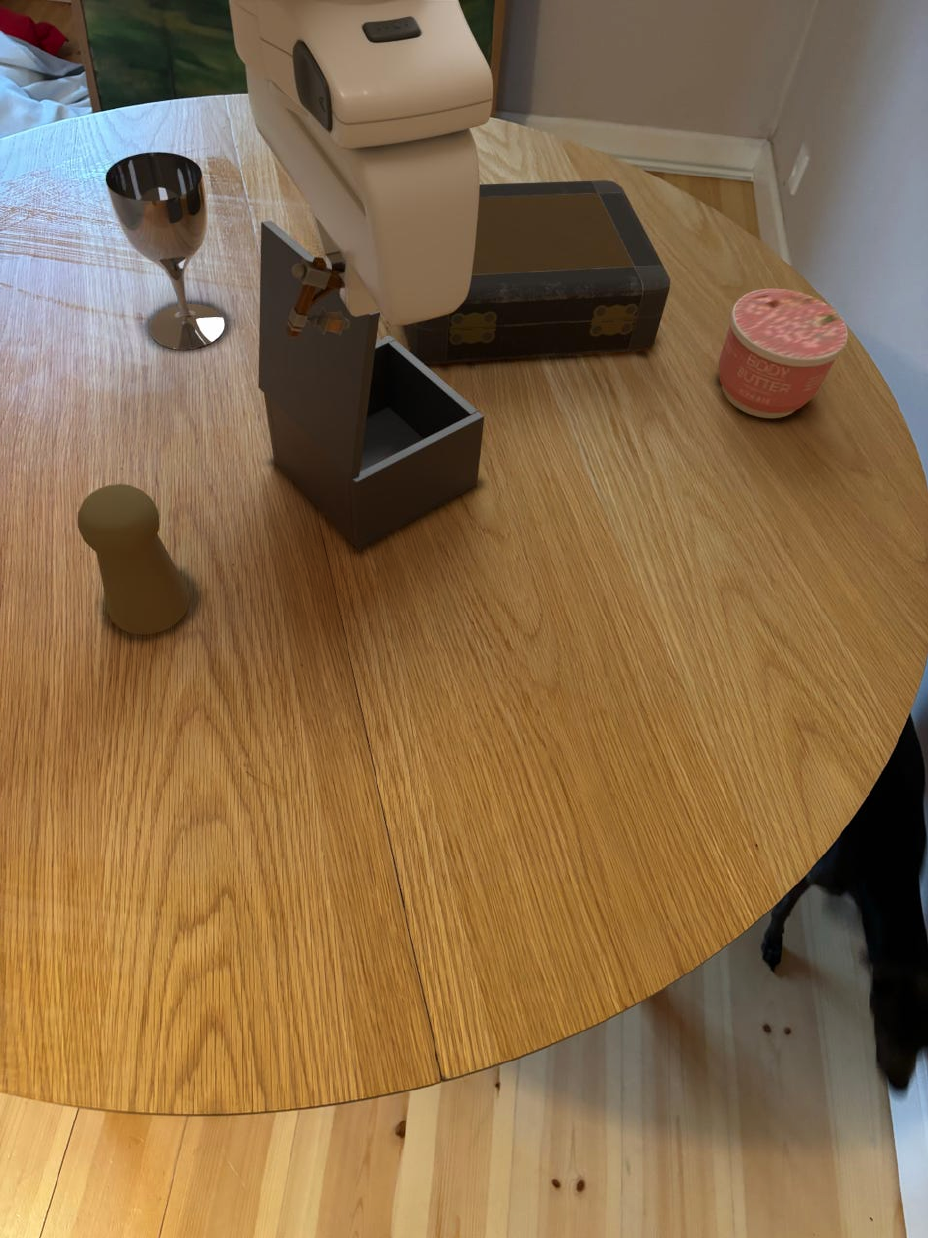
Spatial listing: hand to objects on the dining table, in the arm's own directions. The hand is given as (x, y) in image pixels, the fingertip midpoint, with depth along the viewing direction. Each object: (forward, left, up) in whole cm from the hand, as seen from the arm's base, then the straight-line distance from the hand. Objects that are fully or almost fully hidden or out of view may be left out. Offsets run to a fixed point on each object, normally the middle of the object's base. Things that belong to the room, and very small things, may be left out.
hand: (352, 294), depth 48 cm
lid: (+3, +10, -12) cm, 16 cm away
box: (+8, +10, -27) cm, 29 cm away
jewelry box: (+35, +22, -27) cm, 49 cm away
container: (+45, -3, -27) cm, 53 cm away
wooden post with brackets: (0, 0, -2) cm, 2 cm away
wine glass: (+5, +37, -27) cm, 46 cm away
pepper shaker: (-14, +9, -27) cm, 31 cm away
